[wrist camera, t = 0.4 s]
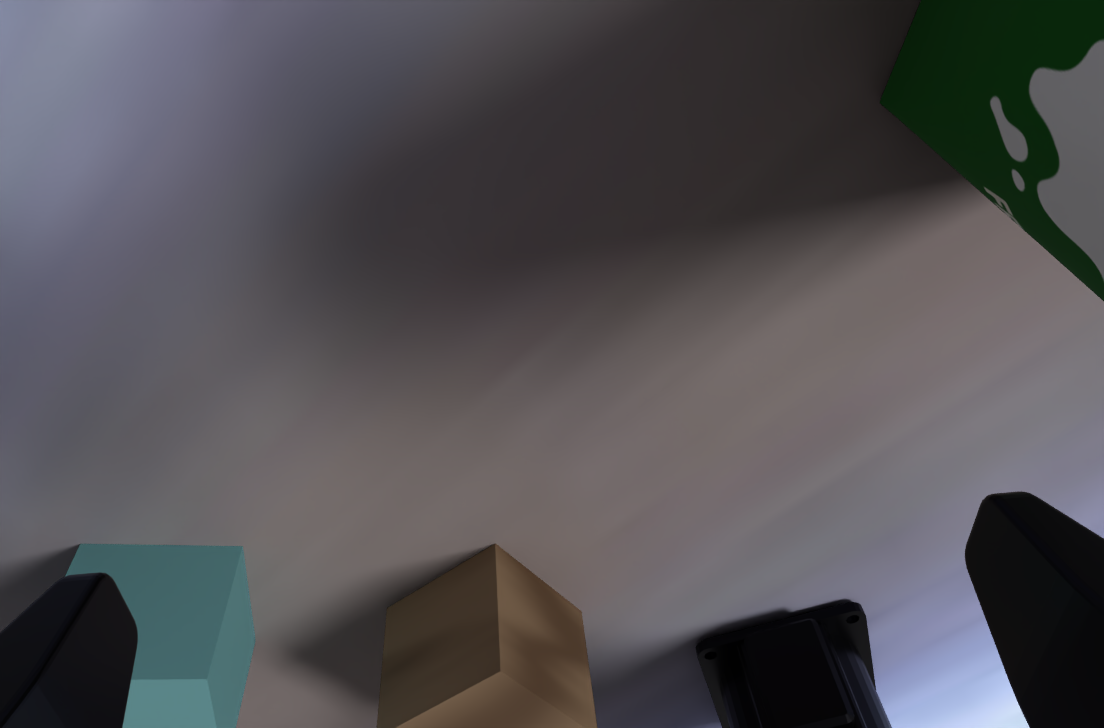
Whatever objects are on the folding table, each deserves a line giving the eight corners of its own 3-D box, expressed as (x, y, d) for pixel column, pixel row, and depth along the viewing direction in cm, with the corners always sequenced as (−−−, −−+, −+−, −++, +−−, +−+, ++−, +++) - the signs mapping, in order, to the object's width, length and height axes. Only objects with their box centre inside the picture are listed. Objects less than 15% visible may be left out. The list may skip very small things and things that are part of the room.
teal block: (255, 638, 31) (225, 772, 27) (109, 638, 30) (56, 776, 26) (243, 544, 28) (207, 679, 24) (81, 541, 27) (16, 680, 23)
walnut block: (581, 609, 32) (598, 736, 28) (477, 665, 33) (479, 794, 29) (495, 541, 29) (500, 671, 25) (387, 606, 31) (376, 738, 27)
